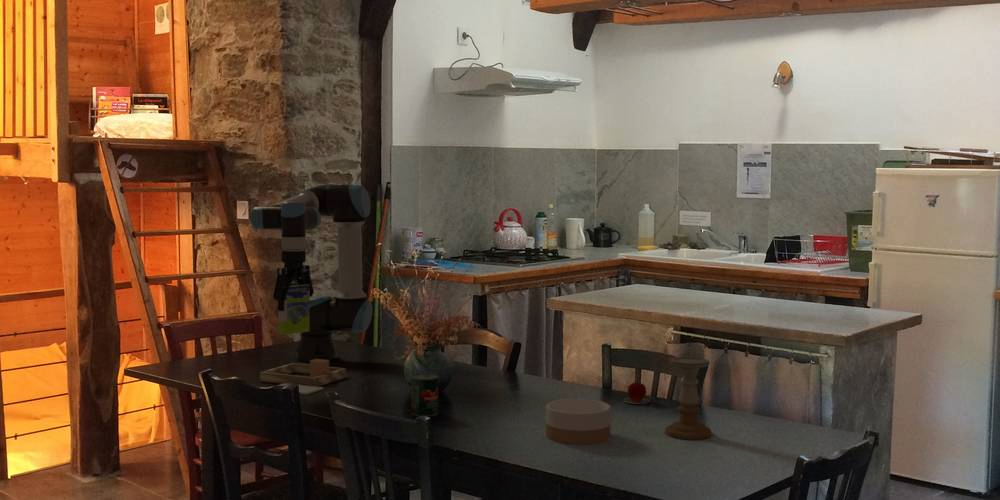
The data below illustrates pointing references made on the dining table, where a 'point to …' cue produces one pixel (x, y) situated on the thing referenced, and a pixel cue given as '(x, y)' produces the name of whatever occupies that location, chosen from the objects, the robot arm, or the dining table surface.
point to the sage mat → (306, 389)
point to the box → (296, 310)
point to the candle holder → (688, 401)
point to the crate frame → (281, 376)
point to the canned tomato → (424, 394)
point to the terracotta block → (319, 367)
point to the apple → (636, 393)
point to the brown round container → (578, 421)
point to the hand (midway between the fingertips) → (294, 318)
